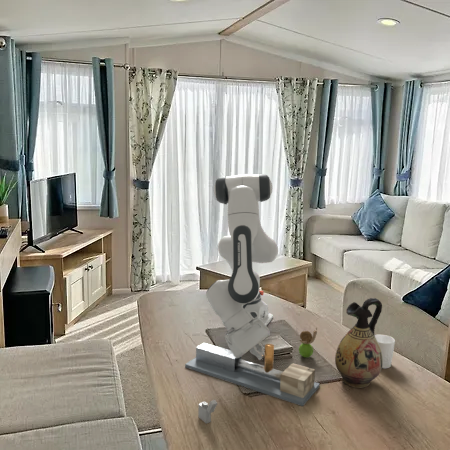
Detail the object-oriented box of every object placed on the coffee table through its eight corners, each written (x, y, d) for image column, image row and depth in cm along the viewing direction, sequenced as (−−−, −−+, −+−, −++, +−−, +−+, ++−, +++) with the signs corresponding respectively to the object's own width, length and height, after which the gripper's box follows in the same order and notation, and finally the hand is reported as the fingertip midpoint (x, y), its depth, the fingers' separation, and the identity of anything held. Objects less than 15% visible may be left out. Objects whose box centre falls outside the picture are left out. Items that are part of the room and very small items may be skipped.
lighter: (198, 417, 146) (198, 392, 145) (202, 415, 147) (203, 390, 146) (212, 428, 141) (212, 403, 139) (217, 426, 142) (217, 401, 140)
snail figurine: (315, 361, 183) (317, 330, 180) (297, 359, 184) (299, 329, 181) (315, 354, 188) (317, 325, 185) (298, 352, 189) (300, 323, 187)
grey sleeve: (203, 355, 183) (203, 342, 182) (241, 366, 175) (241, 353, 174) (196, 360, 179) (196, 347, 178) (233, 372, 171) (234, 359, 170)
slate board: (207, 352, 188) (207, 349, 188) (319, 386, 165) (319, 383, 164) (185, 367, 176) (185, 364, 176) (302, 406, 153) (302, 402, 153)
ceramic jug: (348, 396, 159) (354, 308, 153) (326, 373, 174) (331, 292, 168) (394, 389, 164) (402, 303, 158) (369, 368, 178) (375, 288, 172)
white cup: (392, 361, 184) (395, 336, 182) (392, 371, 176) (394, 344, 174) (370, 357, 186) (372, 332, 184) (369, 367, 179) (371, 341, 177)
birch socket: (291, 379, 167) (292, 363, 166) (314, 385, 163) (314, 369, 162) (280, 390, 159) (280, 374, 158) (303, 398, 155) (304, 381, 154)
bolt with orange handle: (226, 361, 177) (227, 331, 174) (286, 379, 165) (288, 348, 162) (221, 364, 174) (222, 334, 172) (282, 383, 162) (283, 351, 160)
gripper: (228, 329, 159) (254, 365, 156) (258, 310, 176) (282, 342, 173) (216, 338, 162) (241, 374, 159) (247, 319, 179) (270, 351, 176)
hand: (263, 357), depth 166 cm, fingers closed, pressing on bolt with orange handle
